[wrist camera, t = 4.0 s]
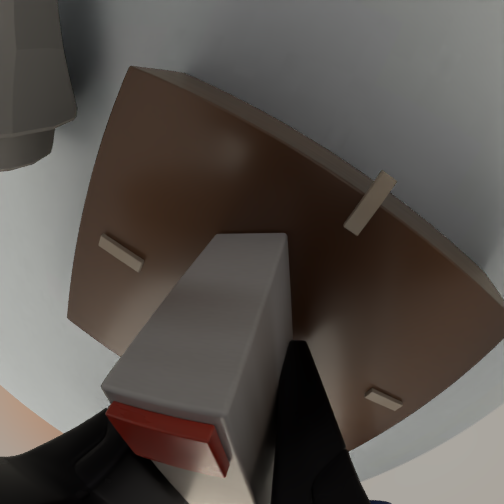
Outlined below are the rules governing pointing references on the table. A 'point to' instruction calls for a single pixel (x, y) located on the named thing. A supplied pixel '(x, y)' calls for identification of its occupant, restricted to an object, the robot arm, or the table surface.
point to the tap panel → (299, 246)
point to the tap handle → (211, 373)
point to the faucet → (31, 81)
